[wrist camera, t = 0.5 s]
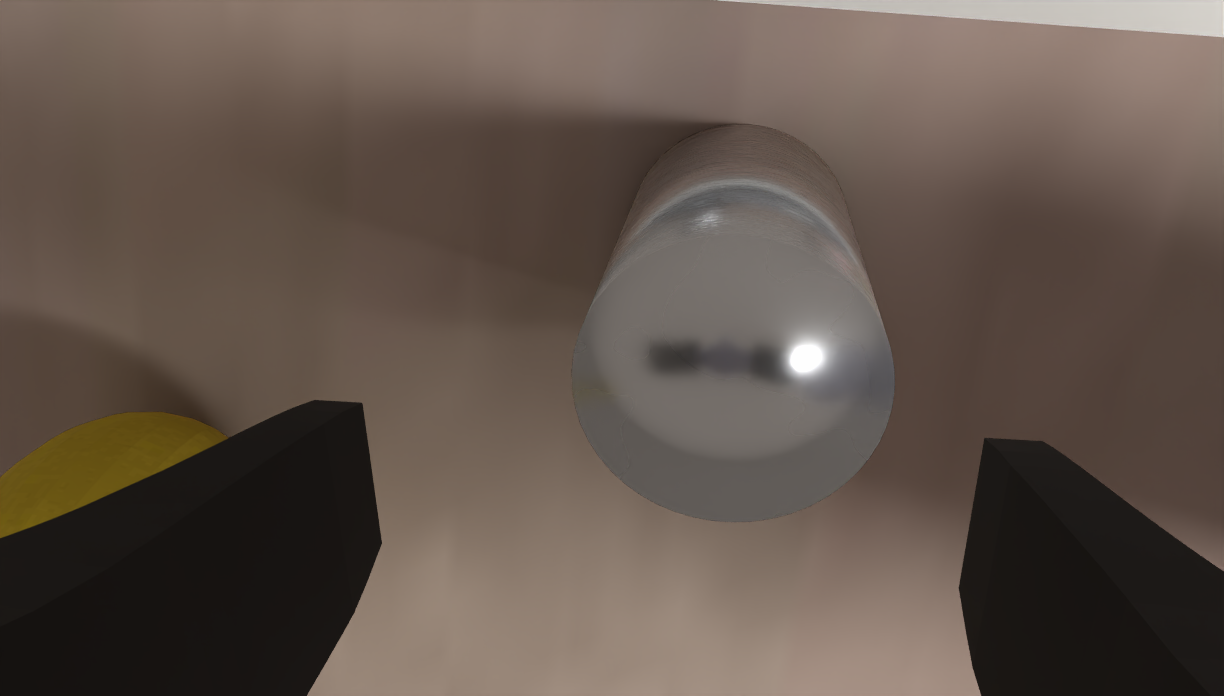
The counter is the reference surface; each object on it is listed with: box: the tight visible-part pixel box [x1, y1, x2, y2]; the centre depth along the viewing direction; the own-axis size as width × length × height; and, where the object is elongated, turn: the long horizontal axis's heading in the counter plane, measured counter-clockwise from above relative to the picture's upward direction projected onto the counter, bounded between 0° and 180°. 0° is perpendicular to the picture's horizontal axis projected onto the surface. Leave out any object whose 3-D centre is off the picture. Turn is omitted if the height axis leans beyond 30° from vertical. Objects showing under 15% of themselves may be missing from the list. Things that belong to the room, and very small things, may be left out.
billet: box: [572, 124, 895, 522], centre depth 16 cm, size 4×4×7 cm
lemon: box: [0, 412, 228, 538], centre depth 20 cm, size 6×6×8 cm
